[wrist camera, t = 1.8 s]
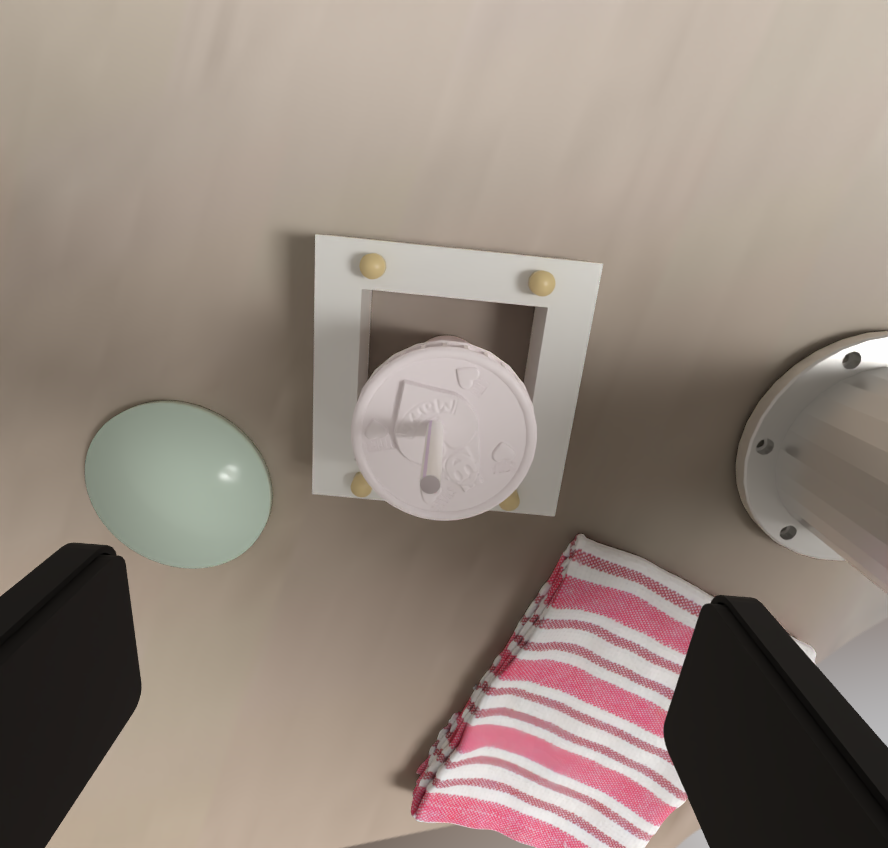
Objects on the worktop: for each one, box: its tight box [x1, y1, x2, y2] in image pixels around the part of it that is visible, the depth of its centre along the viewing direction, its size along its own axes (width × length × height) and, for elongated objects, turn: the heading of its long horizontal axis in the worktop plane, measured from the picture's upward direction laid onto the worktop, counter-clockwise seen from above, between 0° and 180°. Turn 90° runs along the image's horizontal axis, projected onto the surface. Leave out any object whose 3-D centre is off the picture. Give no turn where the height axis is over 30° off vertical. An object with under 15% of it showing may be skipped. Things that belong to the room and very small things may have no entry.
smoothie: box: [351, 335, 537, 521], centre depth 20 cm, size 6×6×14 cm
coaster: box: [85, 400, 273, 569], centre depth 29 cm, size 10×10×1 cm
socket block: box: [312, 234, 603, 517], centre depth 25 cm, size 12×12×4 cm
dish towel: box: [411, 534, 816, 848], centre depth 33 cm, size 17×23×4 cm
